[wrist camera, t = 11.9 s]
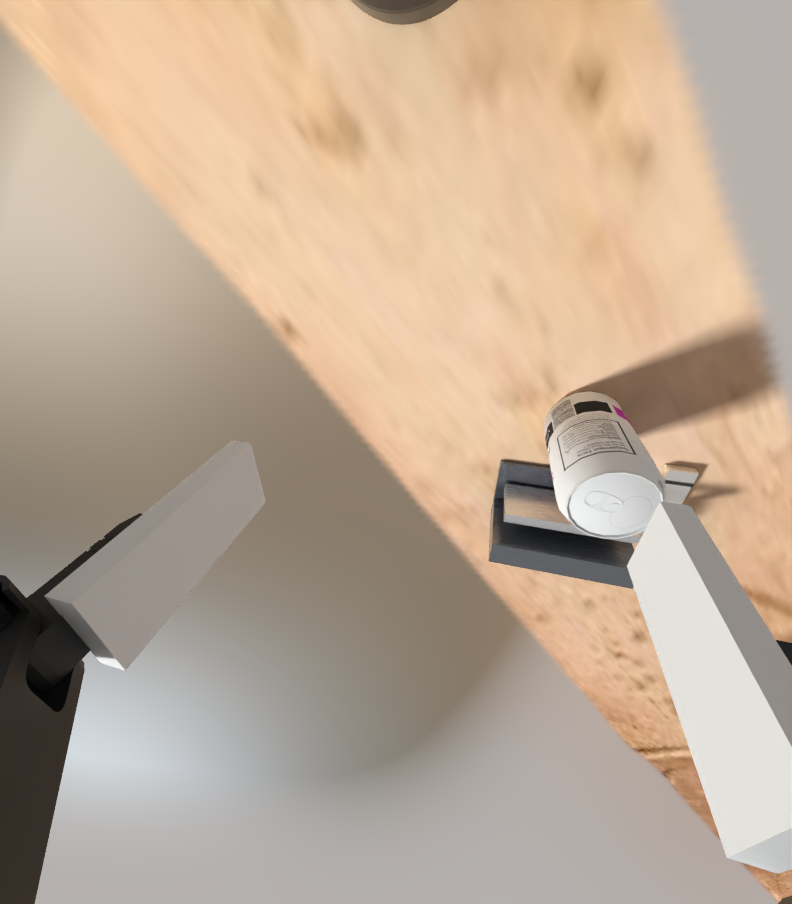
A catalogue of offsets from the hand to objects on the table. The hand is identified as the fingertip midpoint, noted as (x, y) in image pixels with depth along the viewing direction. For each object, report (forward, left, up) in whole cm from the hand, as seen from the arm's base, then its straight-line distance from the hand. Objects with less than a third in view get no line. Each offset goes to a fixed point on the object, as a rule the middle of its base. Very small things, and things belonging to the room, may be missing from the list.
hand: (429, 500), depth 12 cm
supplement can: (+12, +13, -32) cm, 36 cm away
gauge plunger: (+22, +15, -31) cm, 41 cm away
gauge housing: (+22, +15, -32) cm, 41 cm away
